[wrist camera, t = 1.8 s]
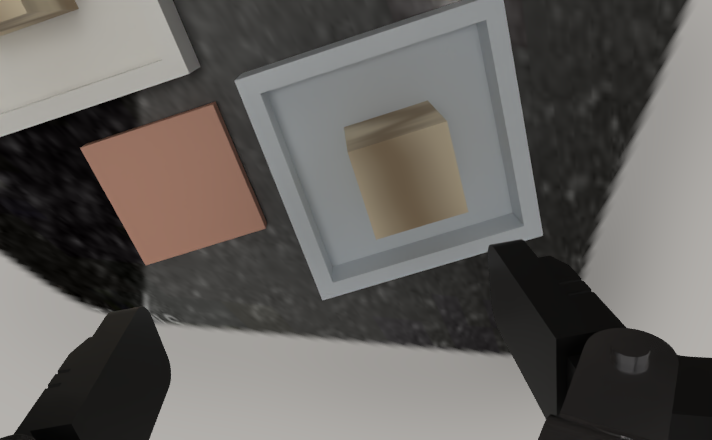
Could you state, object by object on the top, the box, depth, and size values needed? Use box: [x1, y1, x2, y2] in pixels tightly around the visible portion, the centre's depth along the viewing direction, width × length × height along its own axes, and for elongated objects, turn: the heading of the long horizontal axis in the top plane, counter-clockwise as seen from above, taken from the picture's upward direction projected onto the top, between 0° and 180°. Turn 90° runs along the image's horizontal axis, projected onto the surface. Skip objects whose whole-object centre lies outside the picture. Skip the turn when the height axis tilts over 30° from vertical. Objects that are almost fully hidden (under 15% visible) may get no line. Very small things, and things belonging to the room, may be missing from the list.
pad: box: [80, 101, 267, 265], centre depth 30 cm, size 8×8×1 cm
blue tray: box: [235, 0, 543, 300], centre depth 30 cm, size 14×14×3 cm
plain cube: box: [344, 101, 468, 240], centre depth 28 cm, size 5×5×5 cm
